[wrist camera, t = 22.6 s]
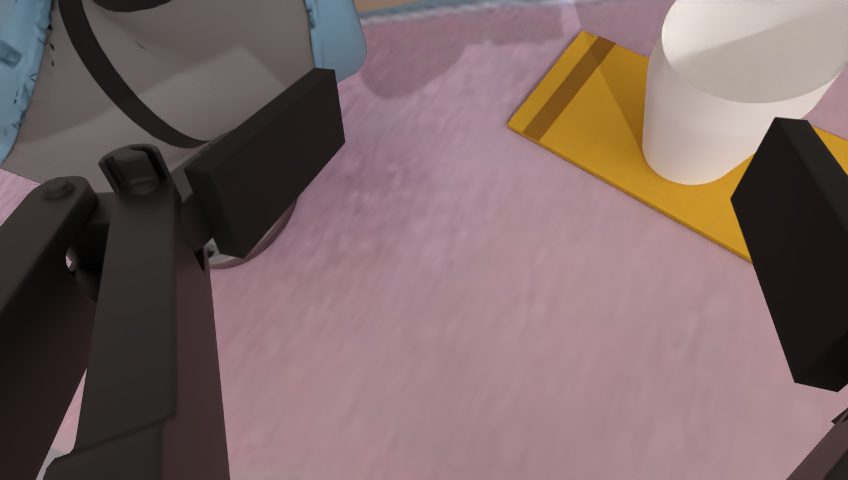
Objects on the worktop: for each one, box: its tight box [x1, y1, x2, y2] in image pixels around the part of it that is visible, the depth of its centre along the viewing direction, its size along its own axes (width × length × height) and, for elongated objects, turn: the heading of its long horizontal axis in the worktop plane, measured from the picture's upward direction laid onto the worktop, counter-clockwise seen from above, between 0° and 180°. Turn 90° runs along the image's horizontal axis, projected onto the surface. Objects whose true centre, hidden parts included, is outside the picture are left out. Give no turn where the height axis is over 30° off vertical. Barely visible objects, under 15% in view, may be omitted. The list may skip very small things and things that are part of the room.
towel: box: [507, 31, 848, 263], centre depth 34 cm, size 26×11×1 cm, turn 50°
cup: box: [642, 0, 848, 185], centre depth 28 cm, size 9×9×12 cm
